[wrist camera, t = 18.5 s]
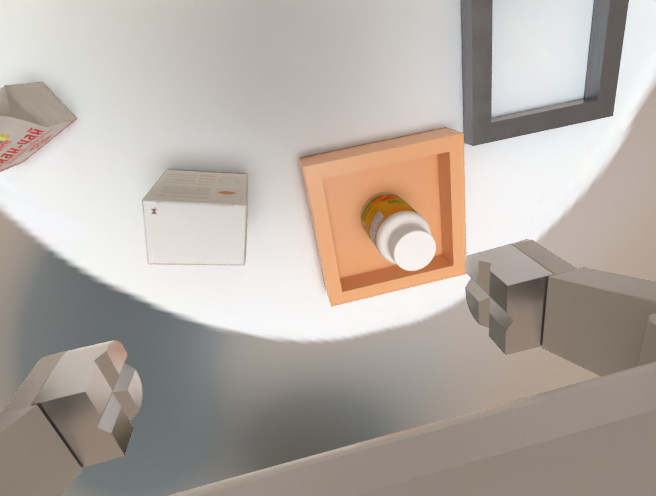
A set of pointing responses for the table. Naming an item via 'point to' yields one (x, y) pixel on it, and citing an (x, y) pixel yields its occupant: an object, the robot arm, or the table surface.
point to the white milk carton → (28, 121)
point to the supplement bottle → (398, 231)
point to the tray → (376, 178)
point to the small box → (196, 218)
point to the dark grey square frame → (594, 106)
